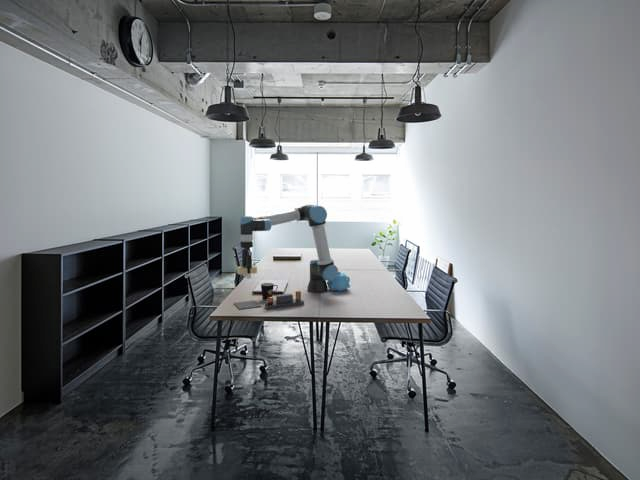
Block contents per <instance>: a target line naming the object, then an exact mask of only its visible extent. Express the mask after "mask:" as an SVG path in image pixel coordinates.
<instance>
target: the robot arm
mask: <svg viewBox="0 0 640 480" xmlns="http://www.w3.org/2000/svg"><path fill="white" fill-rule="evenodd" d="M327 218H328V213H327V210H326V208H325V207H323V206H322V205H319V204H306V205H303V206H302V205H301V206H298V207H294V209H291V210H287V211H283V212H277V213H273V214H268V215H263V216H258V217H254V216H250V215H249V216H248V215H245V216H243V215H242V216H241V217H240V223H239V225H240V227H239V228H240V236H239V238H240V248H242V249H241V257H242V258H241V264H242V266H247V267H246V274H242V276H243V278H245V277H246V280H247V279H248V280H249V279H252V274H251V268H252V266H253V258H252V254H253V253H252V251H251V248H253V247H254V243H253V240H254V234H253V233H254V232H266V231H267V232H269V231H271V229H272V226H273V227H274V226H277V225H281V224H286V223H291V222H294V221H296V222H303V221H304V222H308V227H310V228H311V230H312V234H313V240H314V244H315V249H316V254H317V258H318V259H317V258H316V259H311V260H310V262H309V280H308V285H307V287H306V288H307V291H308V292H310V293H325V292H328V289H329V287H328V284H327V282H328V281H332V280H334V279H335V278H336V277H337V275H338V272H339V268H338V267H337V266H336V265H335V262H334V261H335V260H334V259H332V257H331V253H330V249H329V243H328V238H327V233H326V228H325V225H326V220H327Z"/></svg>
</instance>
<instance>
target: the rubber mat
mask: <svg viewBox="0 0 640 480" xmlns="http://www.w3.org/2000/svg"><path fill="white" fill-rule="evenodd" d="M233 305H235V307H236V308H237V309H238V310H239V311H240V310H241V311H242V310H246V309H255V308H262V305H261V304H260V303H259V302H257V301H256V300H246V301H240V302H239V301H238V302H233Z"/></svg>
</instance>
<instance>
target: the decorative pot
mask: <svg viewBox="0 0 640 480" xmlns="http://www.w3.org/2000/svg"><path fill="white" fill-rule="evenodd" d="M350 282H351V278H350V277H349V276H348V275H347V274H346V273H344V272H343V273H342V271H338V275H337V277H336V278H335V279H334V280H332V281H326V284H327V287H328V289H329V290H330V291H338V292H342V291H345V290H348V289H349V288H351V285H350Z"/></svg>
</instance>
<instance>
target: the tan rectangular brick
mask: <svg viewBox="0 0 640 480" xmlns="http://www.w3.org/2000/svg"><path fill="white" fill-rule="evenodd" d="M246 267H247V266H243V265H242V266H241V265H240V266H236V274H238V275H242V276H243V274H246ZM257 269H258V268H257V266H256V265H253V264H252V268H251V275H254V274H258V270H257Z"/></svg>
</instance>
